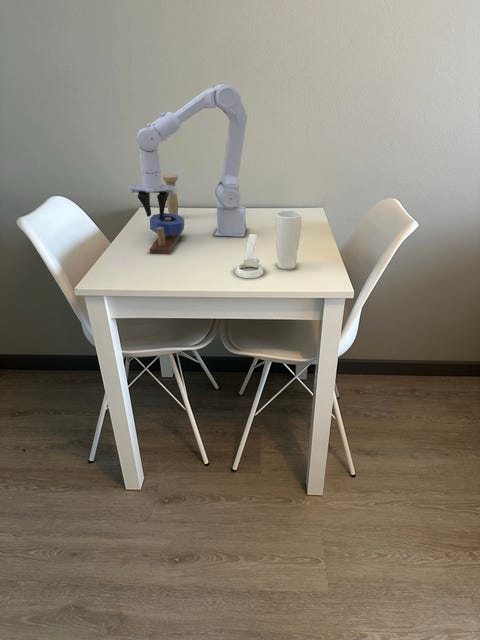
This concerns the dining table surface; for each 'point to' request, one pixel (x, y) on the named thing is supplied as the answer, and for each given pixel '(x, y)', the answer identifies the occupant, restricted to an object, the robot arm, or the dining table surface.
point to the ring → (167, 223)
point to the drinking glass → (287, 238)
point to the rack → (164, 241)
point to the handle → (172, 198)
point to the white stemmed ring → (250, 260)
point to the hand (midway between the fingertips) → (155, 215)
